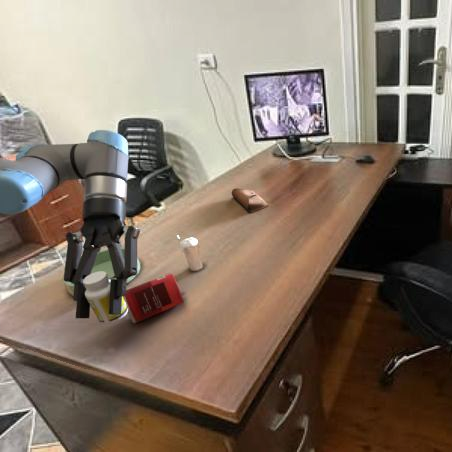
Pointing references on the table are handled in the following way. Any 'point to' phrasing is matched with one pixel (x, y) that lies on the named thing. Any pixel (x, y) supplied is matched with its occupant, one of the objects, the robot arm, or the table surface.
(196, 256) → the milkshake
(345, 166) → the table surface
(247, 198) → the sunglasses case
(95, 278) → the supplement bottle
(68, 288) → the pan
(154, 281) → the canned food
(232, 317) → the table surface
